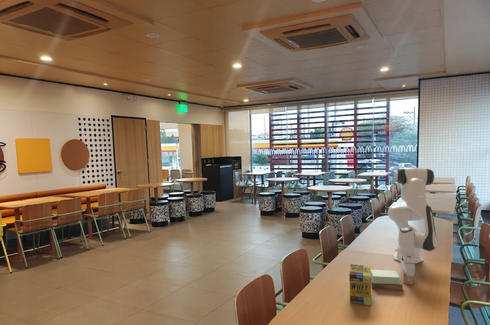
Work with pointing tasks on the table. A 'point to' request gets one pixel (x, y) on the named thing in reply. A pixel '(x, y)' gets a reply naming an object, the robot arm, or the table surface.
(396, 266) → the table surface
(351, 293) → the protein box
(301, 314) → the table surface
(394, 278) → the tower top
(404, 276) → the block
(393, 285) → the tower base
